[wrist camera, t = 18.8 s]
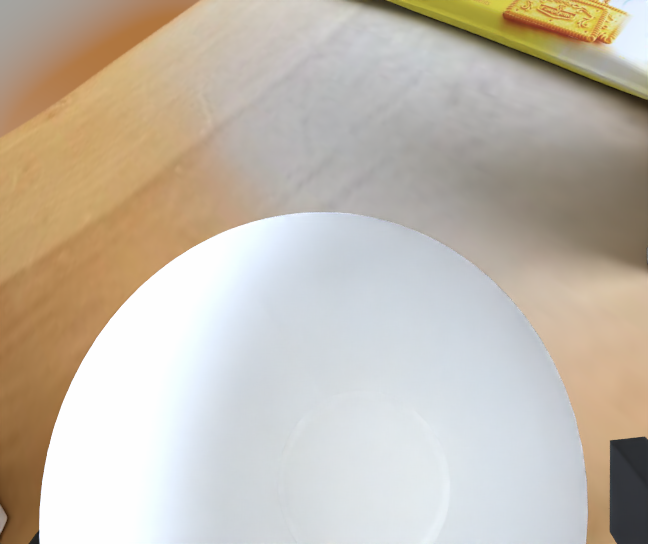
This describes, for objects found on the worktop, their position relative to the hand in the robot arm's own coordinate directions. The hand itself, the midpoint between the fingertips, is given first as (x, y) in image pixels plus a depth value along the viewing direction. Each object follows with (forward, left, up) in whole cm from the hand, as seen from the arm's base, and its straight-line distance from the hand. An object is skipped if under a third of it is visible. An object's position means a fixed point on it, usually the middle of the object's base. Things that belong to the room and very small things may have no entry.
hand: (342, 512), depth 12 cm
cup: (0, +1, -7) cm, 7 cm away
